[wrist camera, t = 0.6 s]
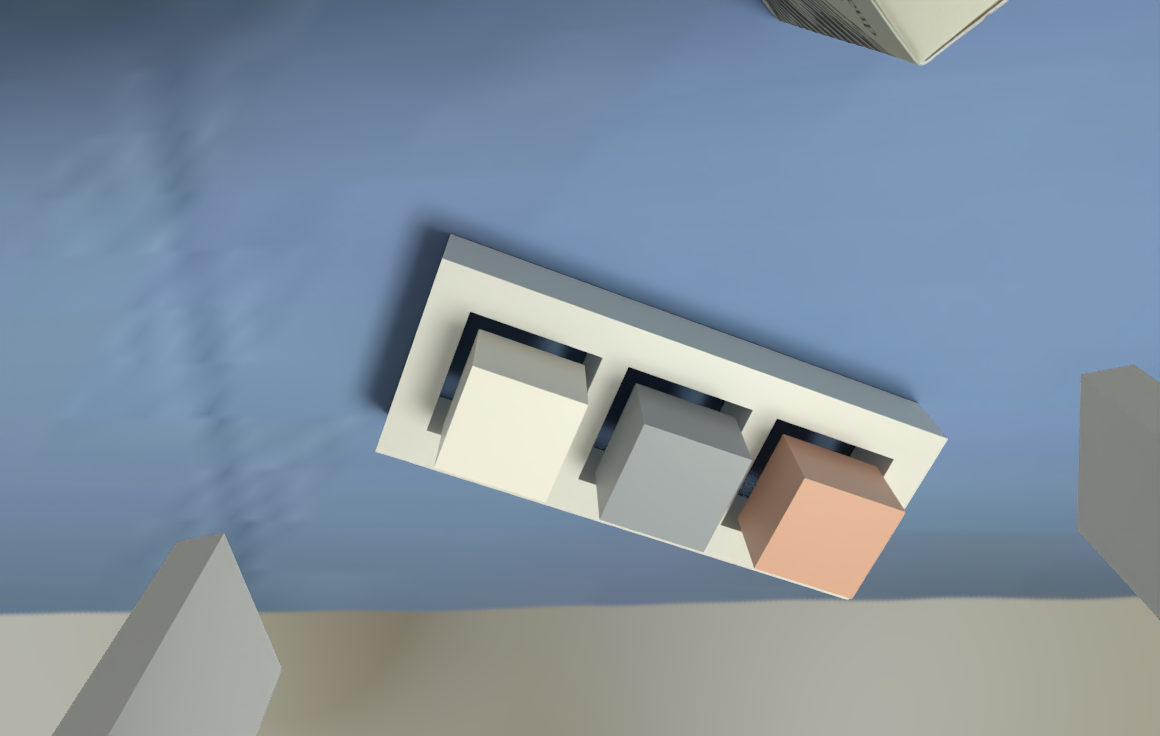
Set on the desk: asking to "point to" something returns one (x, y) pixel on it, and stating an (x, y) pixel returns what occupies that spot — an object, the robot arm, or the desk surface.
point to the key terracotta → (818, 517)
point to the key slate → (670, 468)
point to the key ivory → (513, 416)
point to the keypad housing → (655, 346)
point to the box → (888, 22)
